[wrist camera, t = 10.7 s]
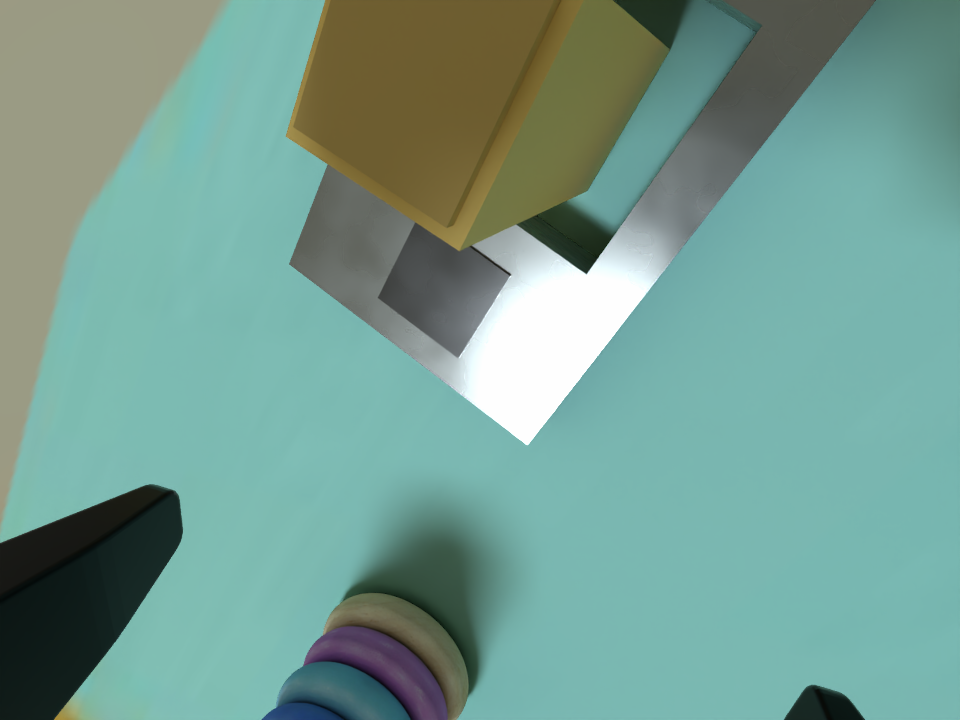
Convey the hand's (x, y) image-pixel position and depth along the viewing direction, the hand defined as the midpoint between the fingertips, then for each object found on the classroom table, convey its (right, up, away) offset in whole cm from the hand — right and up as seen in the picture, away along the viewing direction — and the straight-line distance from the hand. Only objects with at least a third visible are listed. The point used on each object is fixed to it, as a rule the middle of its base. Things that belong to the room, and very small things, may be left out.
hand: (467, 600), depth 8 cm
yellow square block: (+3, +12, +10) cm, 16 cm away
